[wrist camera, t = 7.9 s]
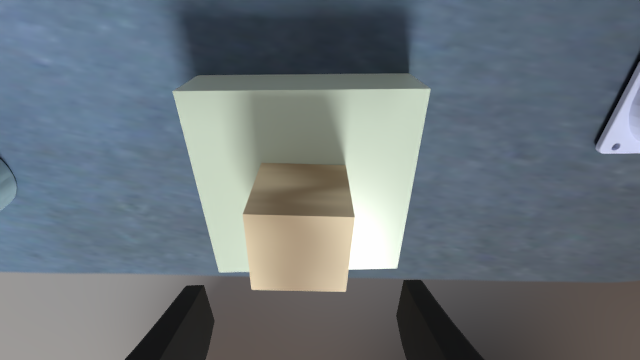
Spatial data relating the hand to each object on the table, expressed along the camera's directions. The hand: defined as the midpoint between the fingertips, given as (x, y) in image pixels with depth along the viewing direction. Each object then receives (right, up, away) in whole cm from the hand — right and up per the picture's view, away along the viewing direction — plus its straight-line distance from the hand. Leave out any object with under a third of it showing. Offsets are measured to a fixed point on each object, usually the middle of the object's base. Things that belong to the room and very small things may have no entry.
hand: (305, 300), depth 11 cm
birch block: (0, +3, +6) cm, 7 cm away
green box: (0, +6, +9) cm, 11 cm away
